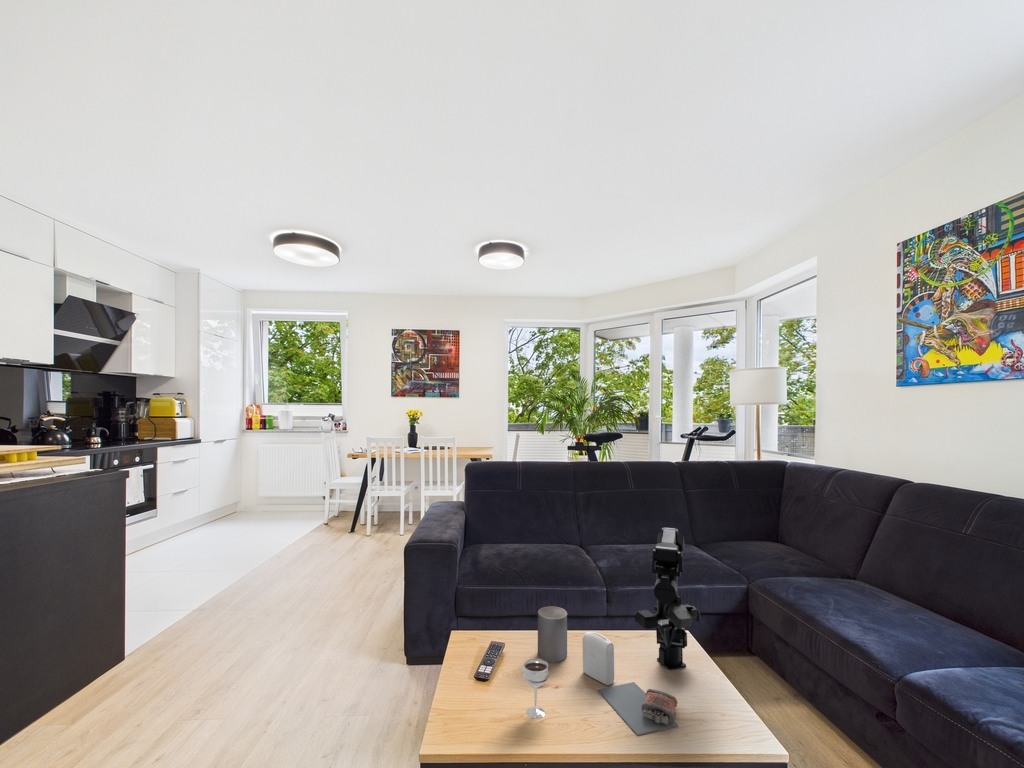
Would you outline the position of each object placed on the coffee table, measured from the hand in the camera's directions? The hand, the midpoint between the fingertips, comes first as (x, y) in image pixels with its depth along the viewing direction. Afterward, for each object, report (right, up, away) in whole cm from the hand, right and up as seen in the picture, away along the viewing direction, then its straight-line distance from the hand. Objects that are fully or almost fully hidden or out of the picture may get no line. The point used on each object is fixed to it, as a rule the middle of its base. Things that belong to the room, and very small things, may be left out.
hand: (667, 646), depth 135 cm
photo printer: (-19, -13, +6) cm, 23 cm away
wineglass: (-39, -11, -11) cm, 42 cm away
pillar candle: (-32, -13, +18) cm, 39 cm away
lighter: (-4, -10, -8) cm, 13 cm away
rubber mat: (-12, -11, -9) cm, 18 cm away
